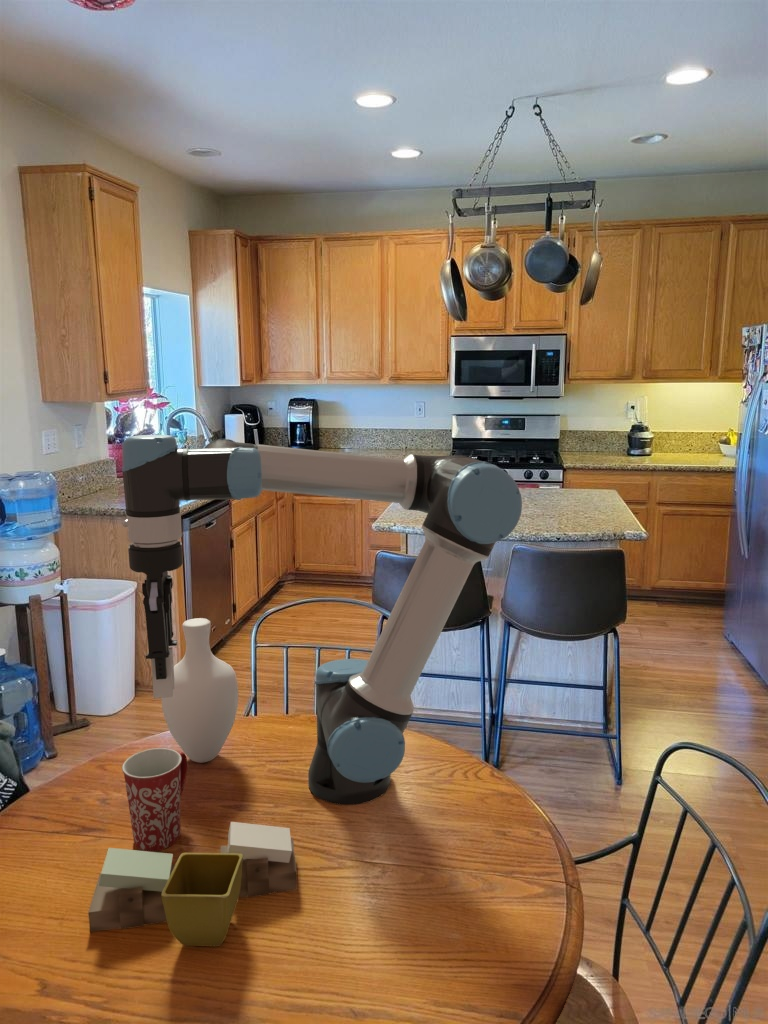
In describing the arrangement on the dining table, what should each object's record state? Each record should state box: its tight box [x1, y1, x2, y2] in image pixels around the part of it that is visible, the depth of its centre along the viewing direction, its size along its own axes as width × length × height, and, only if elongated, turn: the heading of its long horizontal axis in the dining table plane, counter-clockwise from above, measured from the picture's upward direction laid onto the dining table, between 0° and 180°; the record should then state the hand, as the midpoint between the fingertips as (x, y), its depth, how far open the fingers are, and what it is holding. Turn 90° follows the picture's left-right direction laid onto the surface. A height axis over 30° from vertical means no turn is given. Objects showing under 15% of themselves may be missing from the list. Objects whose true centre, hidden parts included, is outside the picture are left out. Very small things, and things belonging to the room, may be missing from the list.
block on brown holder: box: [219, 837, 298, 899], centre depth 108 cm, size 11×8×5 cm
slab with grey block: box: [87, 863, 176, 933], centre depth 102 cm, size 11×8×5 cm
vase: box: [161, 617, 239, 763], centre depth 140 cm, size 14×14×28 cm
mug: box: [121, 747, 188, 852], centre depth 118 cm, size 13×9×14 cm
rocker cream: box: [227, 821, 292, 863], centre depth 108 cm, size 9×6×2 cm, turn 101°
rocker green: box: [99, 847, 174, 892], centre depth 102 cm, size 9×6×2 cm, turn 101°
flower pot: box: [161, 852, 243, 947], centre depth 97 cm, size 9×9×9 cm
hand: (164, 692), depth 110 cm, fingers open, 2 cm apart
